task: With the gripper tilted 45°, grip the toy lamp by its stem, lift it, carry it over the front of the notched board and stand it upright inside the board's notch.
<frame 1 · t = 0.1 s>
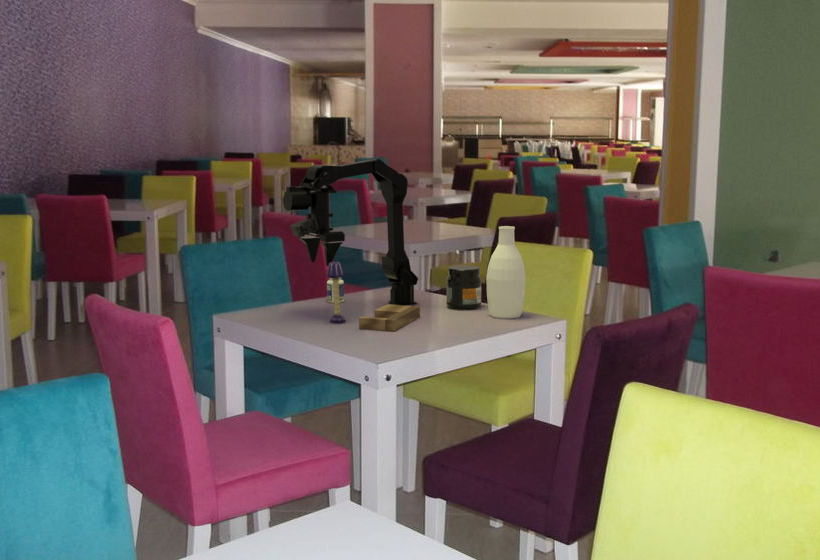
hand: (320, 264, 265), 15 cm above the table, tool pointing down, fingers open, 9 cm apart
bottle: (505, 316, 265), on the table
notched board: (385, 325, 252), on the table
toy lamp: (336, 322, 257), on the table
supplement container: (463, 307, 277), on the table
pill bottle: (335, 302, 287), on the table
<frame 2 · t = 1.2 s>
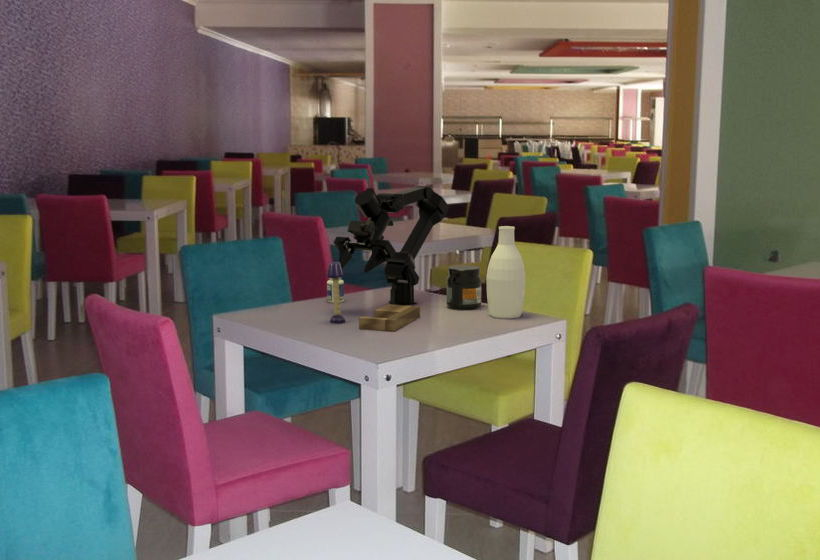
hand: (351, 270, 260), 13 cm above the table, tool tilted 45°, fingers open, 9 cm apart
nothing on the table moved.
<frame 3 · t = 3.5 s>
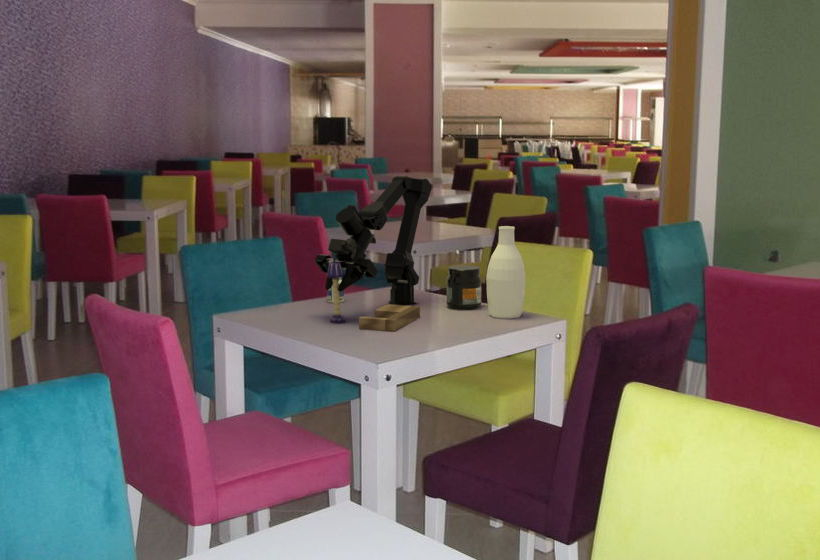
hand: (332, 290, 254), 9 cm above the table, tool tilted 45°, fingers closed on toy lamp, 4 cm apart
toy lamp: (336, 322, 257), on the table, touching gripper
everything else where it was.
when the fingers open (10 cm above the table, at t = 7.0 s): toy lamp stays where it is, on the table.
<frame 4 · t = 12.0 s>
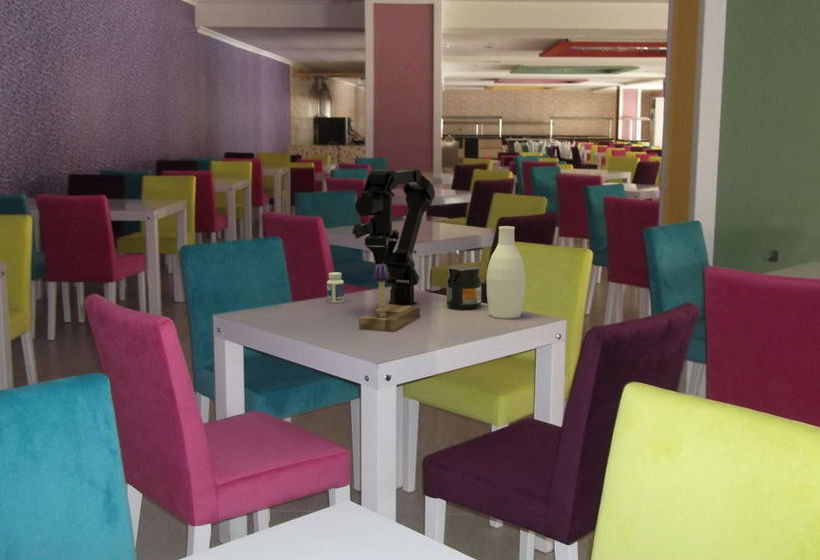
hand: (382, 267, 270), 13 cm above the table, tool pointing down, fingers open, 9 cm apart
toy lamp: (381, 325, 252), on the table
everything else where it was.
at the end: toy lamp 0.2 cm from the target spot, on the table; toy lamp tilted 0°; the gripper is holding nothing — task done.
